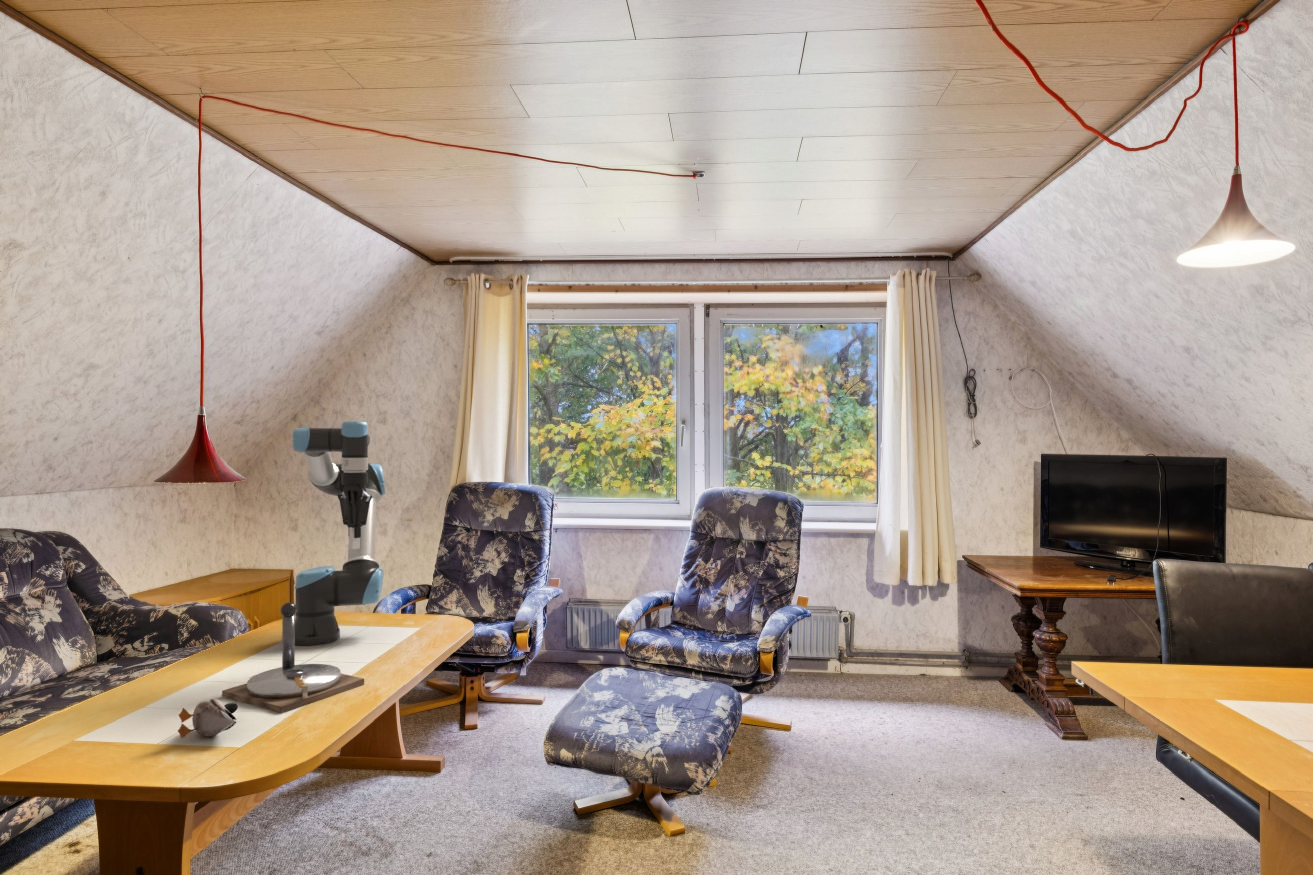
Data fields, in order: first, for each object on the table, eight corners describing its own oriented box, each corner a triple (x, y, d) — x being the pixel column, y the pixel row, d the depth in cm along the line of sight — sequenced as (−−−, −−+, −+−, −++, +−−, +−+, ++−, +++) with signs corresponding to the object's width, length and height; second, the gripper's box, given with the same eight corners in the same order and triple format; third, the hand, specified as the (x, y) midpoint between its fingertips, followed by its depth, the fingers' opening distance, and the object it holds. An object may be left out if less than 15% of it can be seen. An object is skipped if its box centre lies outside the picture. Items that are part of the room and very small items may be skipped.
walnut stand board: (222, 696, 190) (222, 678, 190) (306, 670, 211) (306, 654, 211) (281, 712, 178) (281, 694, 178) (364, 684, 199) (364, 667, 199)
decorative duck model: (224, 688, 177) (275, 692, 172) (223, 721, 176) (274, 726, 172) (167, 704, 162) (221, 708, 158) (165, 739, 162) (219, 745, 157)
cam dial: (349, 686, 192) (349, 611, 192) (253, 704, 179) (253, 623, 179) (329, 664, 210) (330, 596, 211) (241, 678, 198) (241, 606, 198)
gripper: (329, 471, 227) (329, 548, 227) (359, 472, 221) (359, 551, 221) (350, 470, 234) (350, 545, 234) (379, 471, 228) (379, 548, 228)
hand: (354, 548), depth 227 cm, fingers closed
